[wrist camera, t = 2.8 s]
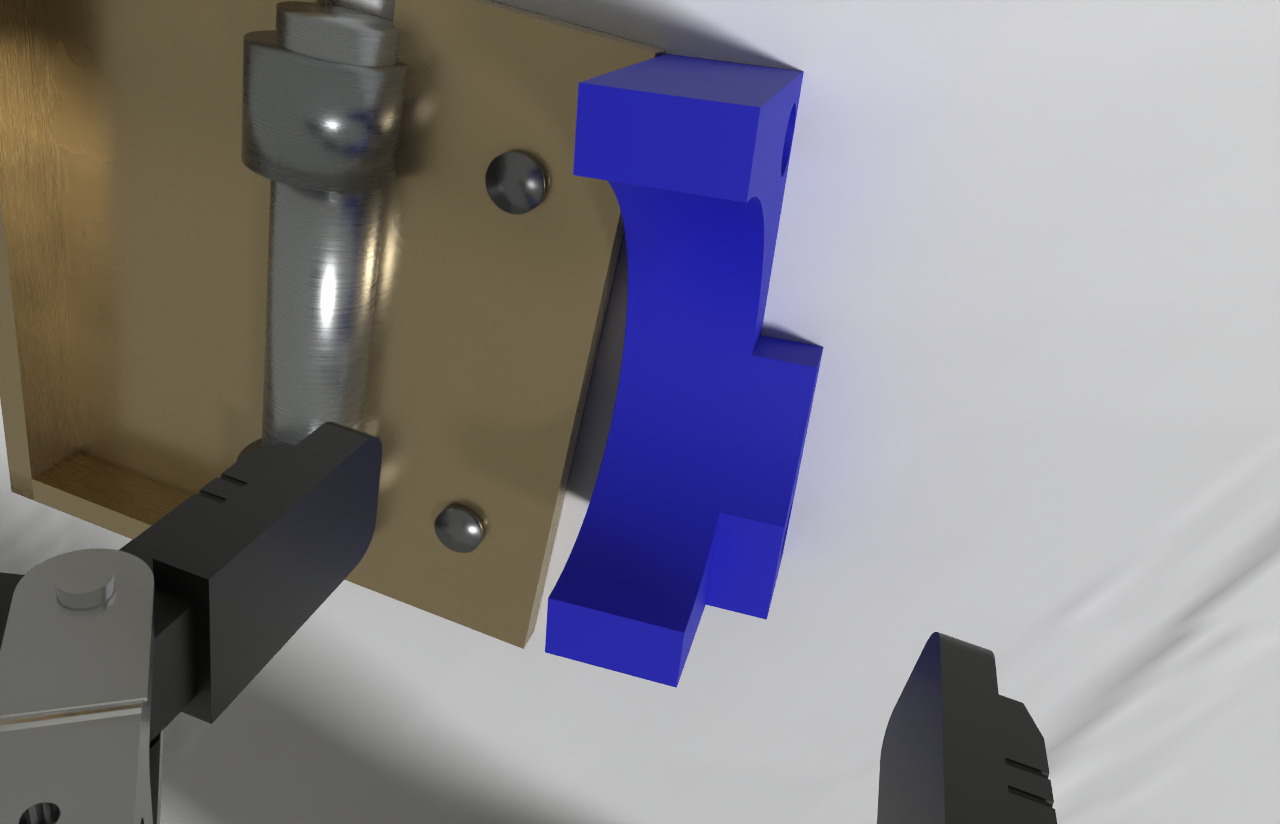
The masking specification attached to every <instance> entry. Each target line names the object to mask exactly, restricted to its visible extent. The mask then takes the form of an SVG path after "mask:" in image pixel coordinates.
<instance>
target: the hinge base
mask: <svg viewBox="0 0 1280 824" xmlns="http://www.w3.org/2000/svg"><path fill="white" fill-rule="evenodd" d="M332 1H333V0H0V399H1V407H2V415H3V424H4V432H5V440H6V448H7V456H8V465H9V473H10V481H11V489H12V492H14V493H17V494H19V495H22V496H24V497H27V498H29V499H32V500H34V501H37V502H39V503H42V504H45V505H47V506H50V507H52V508H55V509H57V510H60V511H62V512H65V513H67V514H70V515H72V516H75V517H77V518H80V519H83V520H85V521H88V522H90V523H93V524H95V525H98V526H100V527H103V528H105V529H108V530H110V531H113V532H115V533H118V534H121V535H123V536H126V537H128V538H131V539H134V538H136V537H137V536H138V535H140V534H141V533H142V532H144V531H145V530H146V529H148V528H149V527H150V526H152V525H153V524H154V523H156V522H157V521H159V520H160V519H161V518H163V517H164V516H165V515H167V514H168V513H169V512H171V511H172V510H173V509H175V508H176V507H177V506H179V505H180V504H181V503H183V502H184V501H185V500H187V499H188V498H189V497H191V496H192V495H193V494H199V492H200V489H201V488H203V487H204V486H205V485H207V484H208V483H209V482H211V481H212V480H213V479H215V478H216V477H217V478H220V477H221V473H223V472H224V471H225V470H227V469H228V468H229V467H231V466H232V465H233V464H235V463H236V462H238V461H239V460H240V459H242V458H243V457H244V456H246V455H247V454H249V453H252V452H255V451H258V450H261V449H263V448H266V447H269V446H272V445H275V444H278V443H281V442H286V443H289V444H291V445H294V446H295V445H297V444H298V443H299V442H300V441H302V440H303V439H304V438H306V437H307V436H308V435H309V434H311V433H312V432H313V431H314V430H316V429H317V428H318V427H319V426H321V425H322V424H324V423H326V422H329V421H332V422H335V423H338V424H341V425H343V426H346V427H349V428H352V429H355V430H358V431H361V432H364V433H367V434H370V435H372V436H375V437H378V438H379V439H380V441H381V443H382V461H381V472H380V483H379V494H378V505H377V516H376V525H375V530H374V534H373V537H372V540H371V542H370V545H369V547H368V549H367V551H366V553H365V555H364V556H363V558H362V560H361V561H360V562H359V564H358V565H357V566H356V567H355V568H354V569H353V570H352V572H351V573H350V574H349V575H348V576H347V577H346V578H345V580H347V581H350V582H352V583H355V584H358V585H360V586H363V587H365V588H368V589H371V590H373V591H376V592H378V593H381V594H383V595H386V596H389V597H391V598H394V599H396V600H399V601H402V602H404V603H407V604H409V605H412V606H414V607H417V608H420V609H422V610H425V611H427V612H430V613H432V614H435V615H438V616H440V617H443V618H445V619H448V620H451V621H453V622H456V623H458V624H461V625H463V626H466V627H469V628H471V629H474V630H476V631H479V632H482V633H484V634H487V635H489V636H492V637H494V638H497V639H500V640H502V641H505V642H507V643H510V644H513V645H515V646H518V647H520V648H523V649H524V647H525V646H526V644H527V642H528V641H529V639H530V637H531V636H532V634H533V632H534V628H535V624H536V619H537V615H538V610H539V606H540V601H541V597H542V593H543V588H544V584H545V579H546V575H547V571H548V566H549V562H550V557H551V553H552V548H553V544H554V540H555V535H556V531H557V526H558V522H559V517H560V513H561V509H562V504H563V500H564V495H565V491H566V486H567V482H568V478H569V473H570V469H571V464H572V460H573V456H574V451H575V447H576V442H577V438H578V433H579V429H580V425H581V420H582V416H583V411H584V407H585V402H586V398H587V394H588V389H589V385H590V380H591V376H592V371H593V367H594V363H595V358H596V354H597V349H598V345H599V340H600V336H601V332H602V327H603V323H604V318H605V314H606V310H607V305H608V301H609V296H610V292H611V287H612V283H613V279H614V274H615V270H616V265H617V261H618V256H619V252H620V248H621V243H622V239H623V234H624V230H625V229H624V223H623V218H622V214H621V210H620V206H619V203H618V200H617V197H616V195H615V193H614V191H613V189H612V187H611V185H610V184H609V182H608V181H607V180H601V179H594V178H588V177H582V176H576V175H573V170H574V153H575V136H576V119H577V102H578V85H579V82H582V81H585V80H588V79H591V78H594V77H597V76H600V75H603V74H606V73H609V72H612V71H615V70H619V69H622V68H625V67H628V66H631V65H634V64H637V63H640V62H643V61H646V60H649V59H652V58H655V57H658V56H661V55H664V53H665V50H663V49H659V48H656V47H652V46H649V45H645V44H642V43H638V42H635V41H631V40H628V39H624V38H621V37H617V36H614V35H610V34H607V33H603V32H600V31H596V30H592V29H589V28H585V27H582V26H578V25H575V24H571V23H568V22H564V21H561V20H557V19H554V18H550V17H547V16H543V15H540V14H536V13H533V12H529V11H526V10H522V9H518V8H515V7H511V6H508V5H504V4H501V3H497V2H494V1H490V0H395V4H394V15H393V22H391V21H389V20H387V19H384V18H381V17H378V16H375V15H372V14H368V13H365V12H361V11H357V10H352V9H348V8H343V7H338V6H333V5H332Z"/></svg>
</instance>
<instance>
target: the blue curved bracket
mask: <svg viewBox="0 0 1280 824" xmlns="http://www.w3.org/2000/svg"><path fill="white" fill-rule="evenodd" d="M802 78H803V71H795V70H788V69H780V68H772V67H764V66H757V65H749V64H741V63H733V62H725V61H718V60H710V59H702V58H694V57H686V56H679V55H671V54H664V55H661V56H658V57H655V58H652V59H649V60H646V61H643V62H640V63H637V64H634V65H631V66H628V67H625V68H622V69H619V70H615V71H612V72H609V73H606V74H603V75H600V76H597V77H594V78H591V79H588V80H585V81H582V82H579V85H578V102H577V119H576V136H575V153H574V170H573V175H576V176H582V177H588V178H594V179H601V180H607V181H608V182H609V184H610V185H611V187H612V189H613V191H614V193H615V195H616V197H617V200H618V203H619V206H620V210H621V214H622V218H623V223H624V229H625V236H626V246H627V261H628V302H627V319H626V331H625V341H624V350H623V358H622V365H621V372H620V379H619V385H618V391H617V397H616V402H615V407H614V412H613V417H612V422H611V426H610V431H609V435H608V440H607V444H606V448H605V452H604V456H603V460H602V463H601V467H600V471H599V474H598V478H597V481H596V485H595V488H594V491H593V494H592V498H591V501H590V504H589V507H588V510H587V513H586V516H585V518H584V521H583V524H582V526H581V529H580V532H579V535H578V537H577V539H576V542H575V544H574V547H573V549H572V552H571V554H570V556H569V558H568V561H567V563H566V565H565V567H564V569H563V571H562V573H561V575H560V577H559V579H558V581H557V583H556V585H555V587H554V589H553V591H552V592H551V594H550V596H549V598H548V611H547V628H546V645H545V652H546V653H550V654H554V655H557V656H561V657H565V658H569V659H572V660H576V661H580V662H584V663H587V664H591V665H595V666H598V667H602V668H606V669H610V670H613V671H617V672H621V673H624V674H628V675H632V676H636V677H639V678H643V679H647V680H650V681H654V682H658V683H662V684H665V685H669V686H673V687H677V685H678V682H679V679H680V676H681V673H682V670H683V668H684V665H685V662H686V659H687V656H688V653H689V650H690V647H691V645H692V642H693V639H694V636H695V633H696V630H697V627H698V625H699V622H700V619H701V616H702V613H703V610H704V607H705V604H706V605H710V606H714V607H718V608H722V609H726V610H731V611H735V612H739V613H743V614H747V615H751V616H755V617H759V618H763V619H767V616H768V612H769V608H770V604H771V600H772V596H773V592H774V588H775V583H776V579H777V575H778V571H779V567H780V563H781V559H782V555H783V550H784V545H785V540H786V535H787V530H788V525H789V519H790V514H791V509H792V504H793V499H794V494H795V489H796V484H797V479H798V474H799V468H800V463H801V458H802V453H803V448H804V443H805V438H806V433H807V428H808V423H809V417H810V412H811V407H812V402H813V397H814V392H815V387H816V382H817V377H818V372H819V367H820V361H821V356H822V351H823V347H820V346H815V345H810V344H804V343H799V342H794V341H789V340H783V339H778V338H773V337H767V336H762V335H761V331H762V325H763V319H764V313H765V306H766V300H767V294H768V288H769V282H770V276H771V269H772V263H773V257H774V251H775V245H776V239H777V232H778V226H779V220H780V214H781V208H782V202H783V195H784V189H785V183H786V177H787V171H788V165H789V158H790V152H791V146H792V140H793V134H794V128H795V121H796V115H797V109H798V103H799V97H800V91H801V84H802Z"/></svg>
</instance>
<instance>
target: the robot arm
mask: <svg viewBox="0 0 1280 824" xmlns="http://www.w3.org/2000/svg"><path fill="white" fill-rule="evenodd" d="M381 461H382V443H381V441H380V439H379V438H378V437H375V436H372V435H370V434H367V433H364V432H361V431H358V430H355V429H352V428H349V427H346V426H343V425H341V424H338V423H335V422H332V421H329V422H326V423H324V424H322V425H321V426H319V427H318V428H317V429H316V430H314V431H313V432H312V433H311V434H309V435H308V436H307V437H306V438H304V439H303V440H302V441H300V442H299V443H298V444H297V445H295V446H294V445H291V444H289V443H286V442H281V443H278V444H275V445H272V446H269V447H266V448H263V449H261V450H258V451H255V452H252V453H249V454H247V455H246V456H244V457H243V458H242V459H240V460H239V461H238V462H236V463H235V464H233V465H232V466H231V467H229V468H228V469H227V470H225V471H224V472H223V473H221V477H220V478H217V477H216V478H215V479H213V480H212V481H211V482H209V483H208V484H207V485H205V486H204V487H203V488H201V489H200V492H199V494H193V495H192V496H191V497H189V498H188V499H187V500H185V501H184V502H183V503H181V504H180V505H179V506H177V507H176V508H175V509H173V510H172V511H171V512H169V513H168V514H167V515H165V516H164V517H163V518H161V519H160V520H159V521H157V522H156V523H154V524H153V525H152V526H150V527H149V528H148V529H146V530H145V531H144V532H142V533H141V534H140V535H138V536H137V537H136V538H134V539H133V540H132V541H130V542H129V543H128V544H126V545H125V546H124V547H122V548H121V549H120V550H113V549H85V550H78V551H73V552H68V553H65V554H62V555H58V556H56V557H53V558H51V559H49V560H46V561H44V562H42V563H41V564H39V565H37V566H36V567H34V568H33V569H32V570H30V571H29V572H28V573H27V574H26V575H18V574H9V573H0V824H160V810H161V785H162V760H163V729H164V728H165V727H166V726H167V725H168V724H169V723H170V722H171V721H172V720H173V719H174V718H175V717H176V716H177V715H178V714H179V713H180V712H184V713H186V714H189V715H191V716H194V717H196V718H199V719H201V720H204V721H206V722H209V723H211V724H212V723H213V722H214V721H215V720H216V719H217V717H218V716H219V715H220V714H221V713H222V712H223V711H224V710H225V709H226V708H227V707H228V705H229V704H230V703H231V702H232V701H233V700H234V699H235V698H236V697H237V696H238V695H239V693H240V692H241V691H242V690H243V689H244V688H245V687H246V686H247V685H248V684H249V683H250V682H251V680H252V679H253V678H254V677H255V676H256V675H257V674H258V673H259V672H260V671H261V670H262V668H263V667H264V666H265V665H266V664H267V663H268V662H269V661H270V660H271V659H272V658H273V656H274V655H275V654H276V653H277V652H278V651H279V650H280V649H281V648H282V647H283V646H284V644H285V643H286V642H287V641H288V640H289V639H290V638H291V637H292V636H293V635H294V634H295V633H296V631H297V630H298V629H299V628H300V627H301V626H302V625H303V624H304V623H305V622H306V621H307V619H308V618H309V617H310V616H311V615H312V614H313V613H314V612H315V611H316V610H317V609H318V607H319V606H320V605H321V604H322V603H323V602H324V601H325V600H326V599H327V598H328V597H329V595H330V594H331V593H332V592H333V591H334V590H335V589H336V588H337V587H338V586H339V585H340V584H341V582H342V581H343V580H344V579H345V578H346V577H347V576H348V575H349V574H350V573H351V572H352V570H353V569H354V568H355V567H356V566H357V565H358V564H359V562H360V561H361V560H362V558H363V556H364V555H365V553H366V551H367V549H368V547H369V545H370V542H371V540H372V537H373V534H374V530H375V525H376V516H377V505H378V494H379V483H380V472H381ZM1048 775H1049V768H1048V761H1047V755H1046V748H1045V742H1044V738H1043V736H1042V735H1041V733H1040V731H1039V729H1038V728H1037V726H1036V724H1035V723H1034V721H1033V719H1032V717H1031V716H1030V714H1029V712H1028V711H1027V709H1026V707H1025V706H1024V704H1023V703H1021V702H1018V701H1016V700H1013V699H1010V698H1007V697H1004V696H1001V695H998V685H997V675H996V665H995V658H994V654H993V652H992V651H990V650H988V649H985V648H982V647H979V646H976V645H973V644H970V643H967V642H964V641H962V640H959V639H956V638H953V637H950V636H947V635H944V634H941V633H938V632H934V633H933V634H932V635H931V636H930V638H929V639H928V641H927V643H926V645H925V647H924V649H923V651H922V653H921V655H920V657H919V659H918V661H917V663H916V665H915V667H914V669H913V671H912V673H911V675H910V677H909V679H908V681H907V683H906V685H905V687H904V689H903V691H902V693H901V695H900V697H899V699H898V702H897V704H896V706H895V708H894V710H893V712H892V714H891V717H890V719H889V722H888V725H887V728H886V732H885V736H884V740H883V745H882V750H881V759H880V777H879V796H878V816H877V824H1057V819H1056V813H1055V809H1053V808H1052V805H1053V802H1054V800H1053V794H1052V787H1051V781H1050V780H1049V779H1048Z"/></svg>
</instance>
